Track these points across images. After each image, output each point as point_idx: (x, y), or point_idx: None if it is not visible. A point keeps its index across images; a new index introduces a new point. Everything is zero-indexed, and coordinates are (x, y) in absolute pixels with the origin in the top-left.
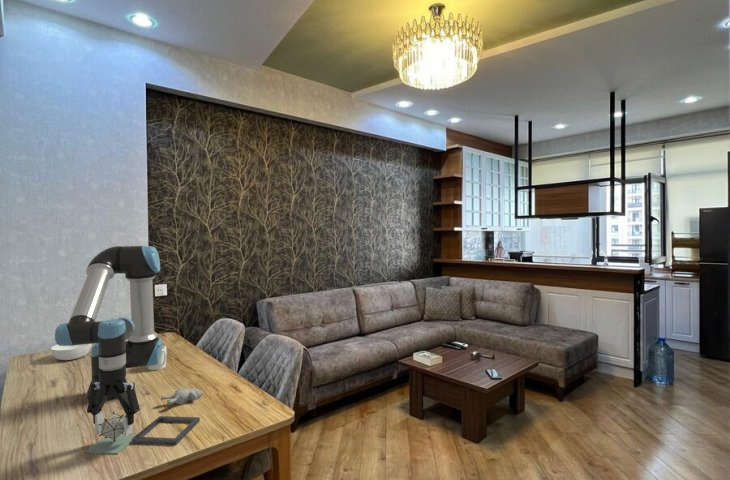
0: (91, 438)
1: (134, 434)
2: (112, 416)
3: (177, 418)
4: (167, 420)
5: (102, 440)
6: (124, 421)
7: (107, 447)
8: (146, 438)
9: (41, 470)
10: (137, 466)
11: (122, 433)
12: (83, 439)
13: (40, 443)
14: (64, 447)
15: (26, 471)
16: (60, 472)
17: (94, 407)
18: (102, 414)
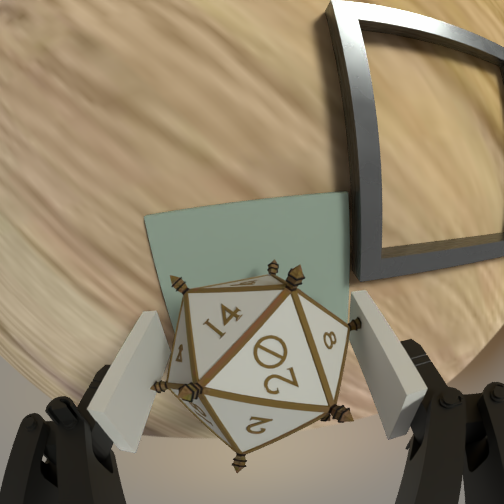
0: (96, 269)
1: (311, 200)
2: (238, 421)
3: (451, 39)
4: (391, 30)
5: (173, 290)
6: (379, 407)
7: None
8: (431, 263)
9: (158, 429)
10: (442, 372)
11: (275, 269)
12: (75, 282)
13: (4, 318)
14: (77, 338)
15: None
16: None
17: (46, 446)
18: (115, 404)
